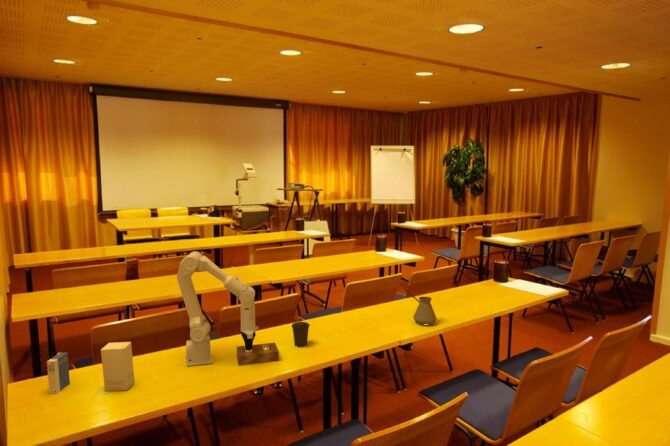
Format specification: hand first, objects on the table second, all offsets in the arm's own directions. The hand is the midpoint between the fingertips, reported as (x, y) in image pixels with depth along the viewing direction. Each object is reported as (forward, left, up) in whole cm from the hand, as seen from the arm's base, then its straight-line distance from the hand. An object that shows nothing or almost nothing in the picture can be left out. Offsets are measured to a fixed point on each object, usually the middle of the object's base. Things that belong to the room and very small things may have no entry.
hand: (248, 349), depth 184 cm
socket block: (+3, 0, -4) cm, 5 cm away
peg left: (0, 0, -4) cm, 4 cm away
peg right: (+7, 0, -4) cm, 8 cm away
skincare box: (-47, -11, -4) cm, 48 cm away
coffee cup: (+23, +9, -4) cm, 26 cm away
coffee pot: (+88, +24, -4) cm, 91 cm away
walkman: (-67, -6, -4) cm, 67 cm away
